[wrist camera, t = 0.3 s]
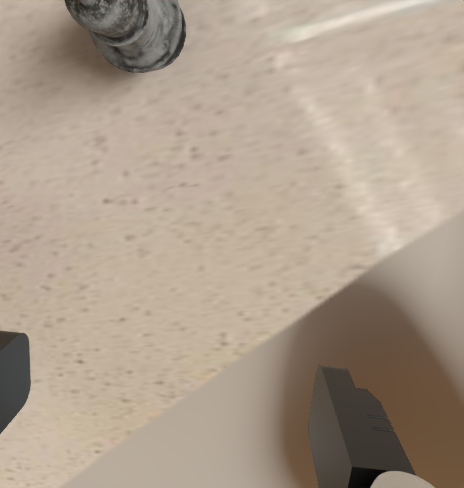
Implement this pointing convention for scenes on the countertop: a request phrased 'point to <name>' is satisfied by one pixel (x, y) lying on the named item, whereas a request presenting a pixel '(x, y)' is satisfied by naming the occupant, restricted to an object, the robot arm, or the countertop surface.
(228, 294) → the countertop surface
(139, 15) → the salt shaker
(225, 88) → the countertop surface
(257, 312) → the countertop surface
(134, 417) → the countertop surface
